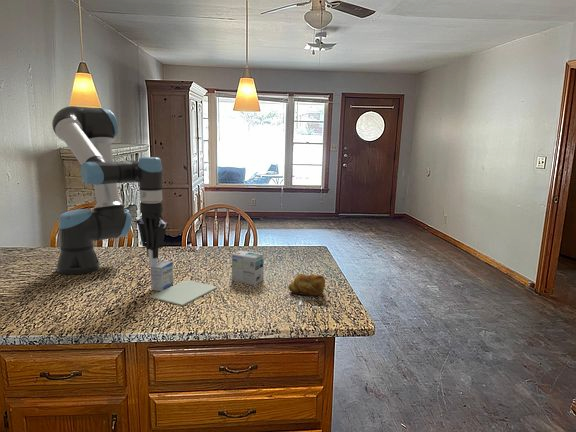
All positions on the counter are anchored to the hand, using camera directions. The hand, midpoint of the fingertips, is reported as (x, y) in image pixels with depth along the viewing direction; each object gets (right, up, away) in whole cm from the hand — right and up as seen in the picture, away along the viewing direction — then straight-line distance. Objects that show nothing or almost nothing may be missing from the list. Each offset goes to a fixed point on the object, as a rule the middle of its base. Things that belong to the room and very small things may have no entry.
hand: (153, 266), depth 149 cm
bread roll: (+55, -10, 0) cm, 56 cm away
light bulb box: (+33, -7, +10) cm, 35 cm away
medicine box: (+3, -8, 0) cm, 8 cm away
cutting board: (+13, -9, -5) cm, 16 cm away
